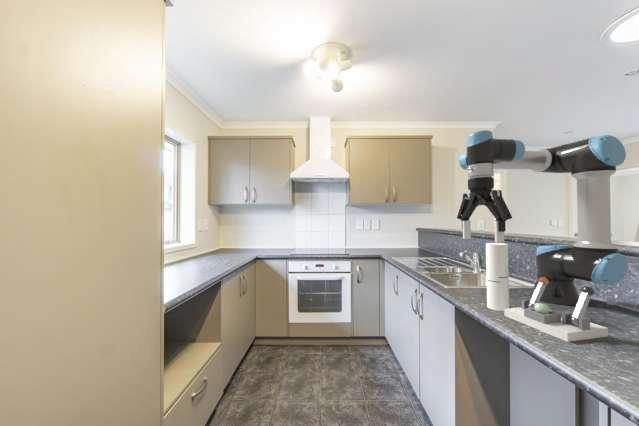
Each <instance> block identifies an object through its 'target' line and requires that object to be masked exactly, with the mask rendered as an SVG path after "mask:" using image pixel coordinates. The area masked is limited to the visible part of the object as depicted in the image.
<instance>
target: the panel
mask: <svg viewBox="0 0 639 426" xmlns="http://www.w3.org/2000/svg"><path fill="white" fill-rule="evenodd" d="M530 300H531V299H530V298H527V299H521V306H518V307H509V308H507V309H504V311H503V312H504V313H503V314H504V317H506V318H509V319H511V320H514V321H516V322H519V323H521V324H523V325H526V326H529V327H531V328H533V329H536V330H538V331H540V332H543V333H545V334H548V335H550V336H553V337H555V338H558V339H559V340H562V341H565V342H566V343H568V342H577V341H585V340H591V339H599V338H606V337H609V330H608V329H609V328H608V327H606V326H603V325H600V324H597V323H593V322H591V318H590V317H583V318H579V326H576V325H573V324H570V323H568V322H567V317H568V316H569V315H571V316H572V315H573V313H574V312H571V311H565V310H561V309H550V308H549V314H541V313H538V312H535V305H534V308H526V306H525V305H526V303H527V302H530Z"/></svg>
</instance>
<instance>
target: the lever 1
mask: <svg viewBox="0 0 639 426" xmlns="http://www.w3.org/2000/svg"><path fill="white" fill-rule="evenodd" d="M548 282H549V281H548V279H547V278H545V277H540V278H539V279H538V284H537V286H536V289H535V291H534V293H533V296H531V299H530V302H527V303H526V305H525V306H526V308H534V304H535V303H540V302H541V300H540V298H541V296H542V294H543V291H544V289H545V287H546V285H547V284H548Z"/></svg>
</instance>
